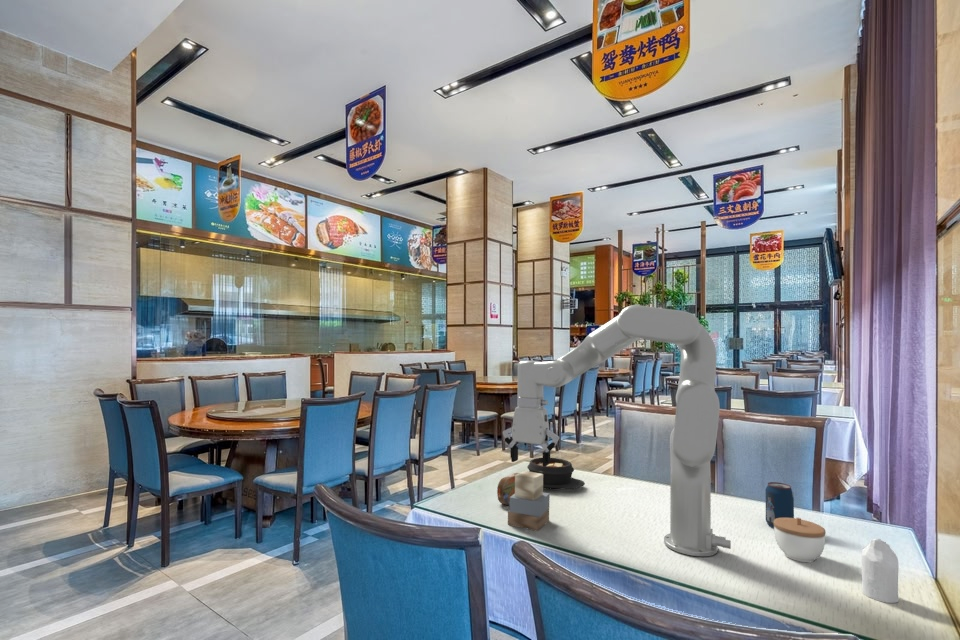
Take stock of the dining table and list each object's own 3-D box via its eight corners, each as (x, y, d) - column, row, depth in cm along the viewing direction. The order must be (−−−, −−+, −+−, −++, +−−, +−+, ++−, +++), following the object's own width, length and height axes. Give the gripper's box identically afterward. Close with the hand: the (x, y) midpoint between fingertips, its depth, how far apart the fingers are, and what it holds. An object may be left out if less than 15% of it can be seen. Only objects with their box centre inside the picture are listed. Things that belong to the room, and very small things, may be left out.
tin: (503, 508, 149) (503, 480, 150) (495, 506, 151) (495, 478, 152) (528, 496, 161) (529, 471, 162) (520, 494, 163) (521, 469, 164)
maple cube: (542, 495, 139) (543, 474, 139) (533, 500, 133) (534, 478, 134) (524, 491, 142) (524, 470, 142) (514, 496, 137) (515, 475, 137)
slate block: (549, 507, 140) (549, 493, 140) (540, 517, 132) (540, 502, 132) (520, 502, 144) (520, 489, 144) (509, 511, 136) (509, 497, 136)
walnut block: (549, 522, 139) (549, 508, 140) (537, 532, 131) (537, 517, 132) (520, 516, 144) (520, 502, 144) (507, 525, 136) (507, 511, 136)
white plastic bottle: (891, 535, 102) (903, 545, 97) (892, 593, 102) (904, 606, 96) (856, 530, 104) (867, 540, 99) (857, 587, 104) (868, 600, 98)
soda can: (796, 527, 138) (795, 485, 139) (791, 533, 133) (790, 490, 134) (768, 521, 143) (768, 480, 144) (763, 527, 138) (762, 484, 139)
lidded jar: (764, 547, 124) (764, 510, 125) (807, 548, 124) (806, 511, 124) (790, 566, 113) (789, 525, 114) (836, 567, 113) (836, 527, 114)
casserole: (507, 485, 174) (508, 461, 175) (530, 474, 190) (531, 452, 190) (573, 498, 161) (573, 472, 161) (592, 485, 177) (592, 462, 177)
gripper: (563, 404, 138) (563, 464, 137) (508, 400, 147) (508, 457, 146) (554, 406, 132) (553, 470, 131) (497, 402, 140) (497, 462, 139)
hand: (530, 463), depth 138 cm, fingers open, 9 cm apart
